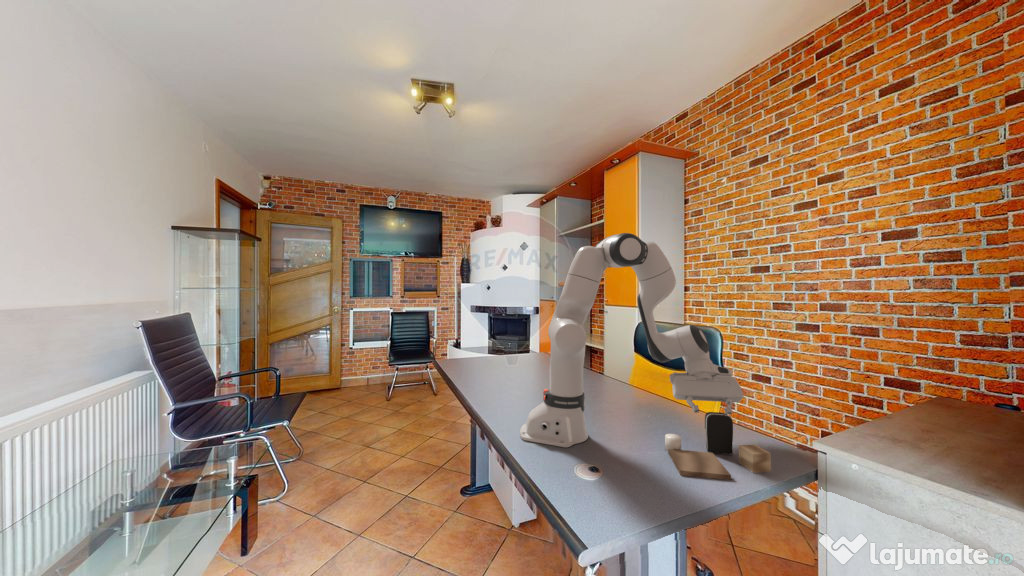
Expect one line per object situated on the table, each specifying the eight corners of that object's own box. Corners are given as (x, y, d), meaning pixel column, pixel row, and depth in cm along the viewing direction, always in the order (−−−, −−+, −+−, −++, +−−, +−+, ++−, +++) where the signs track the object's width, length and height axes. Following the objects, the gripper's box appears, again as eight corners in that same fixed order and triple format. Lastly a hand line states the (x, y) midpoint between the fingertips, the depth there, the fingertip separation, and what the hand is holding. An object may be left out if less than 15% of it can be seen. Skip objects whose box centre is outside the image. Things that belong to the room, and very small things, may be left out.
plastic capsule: (667, 452, 100) (667, 439, 100) (663, 446, 105) (663, 433, 105) (683, 454, 100) (683, 440, 100) (678, 447, 104) (678, 434, 104)
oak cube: (752, 472, 89) (752, 453, 89) (738, 463, 94) (738, 445, 94) (770, 472, 90) (770, 453, 90) (755, 462, 95) (755, 444, 95)
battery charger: (729, 449, 102) (729, 411, 102) (733, 455, 98) (733, 416, 98) (703, 447, 104) (703, 409, 104) (707, 452, 100) (706, 414, 100)
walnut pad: (680, 475, 88) (680, 470, 88) (668, 453, 100) (668, 448, 100) (730, 479, 86) (730, 475, 86) (712, 456, 98) (712, 452, 98)
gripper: (670, 367, 115) (678, 406, 105) (736, 369, 111) (752, 410, 102) (666, 377, 119) (674, 415, 110) (730, 379, 116) (744, 419, 106)
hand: (712, 412), depth 106 cm, fingers open, 8 cm apart
